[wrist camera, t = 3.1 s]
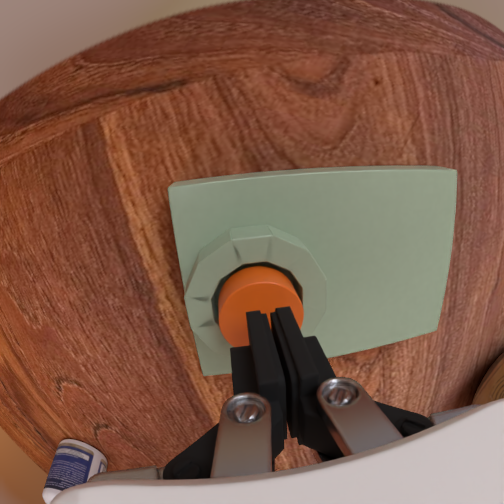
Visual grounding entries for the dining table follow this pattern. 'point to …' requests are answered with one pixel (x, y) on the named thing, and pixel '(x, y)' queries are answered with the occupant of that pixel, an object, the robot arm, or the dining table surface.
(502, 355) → the ceramic bowl
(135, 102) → the dining table surface
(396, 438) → the robot arm
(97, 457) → the pill bottle
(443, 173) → the push button base
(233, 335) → the orange push button
